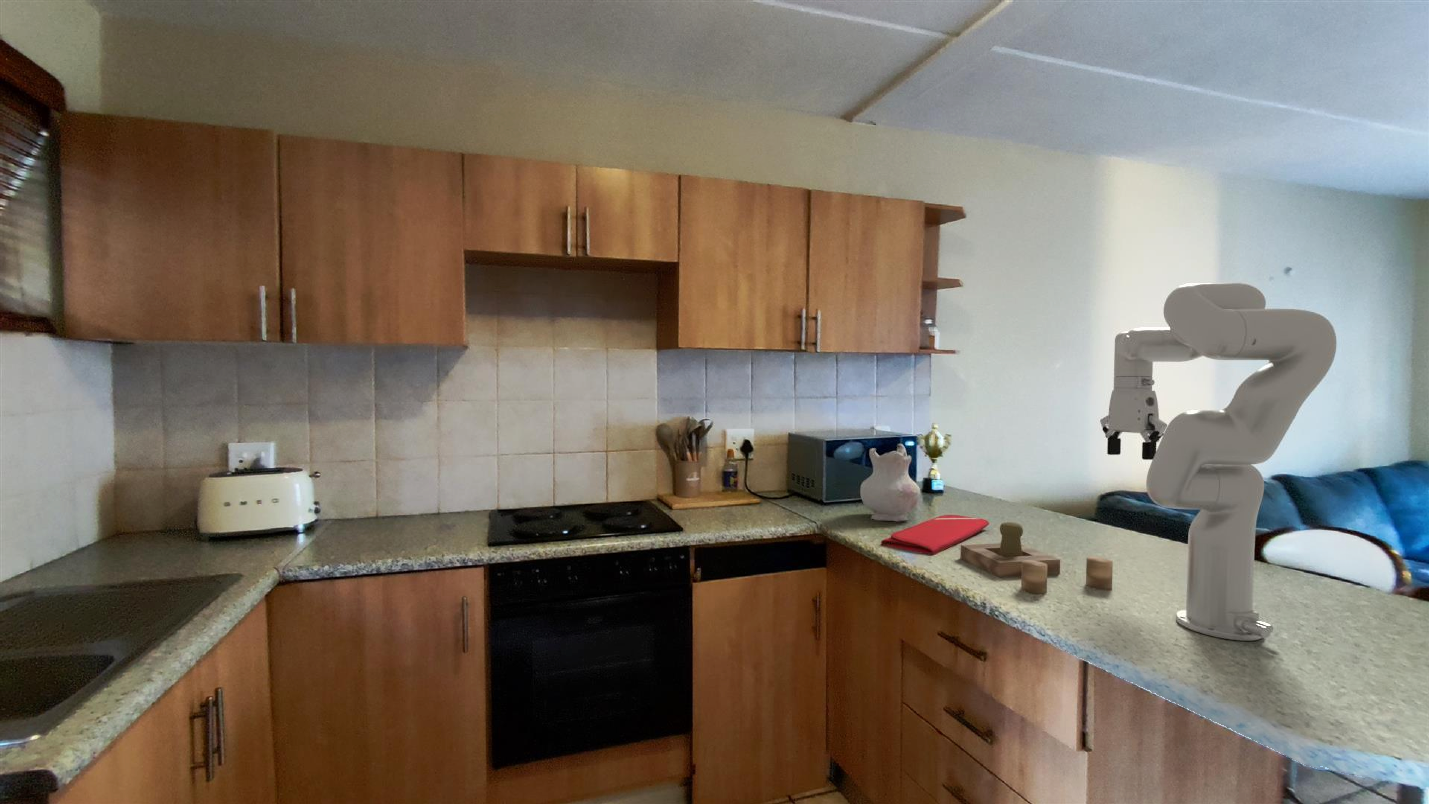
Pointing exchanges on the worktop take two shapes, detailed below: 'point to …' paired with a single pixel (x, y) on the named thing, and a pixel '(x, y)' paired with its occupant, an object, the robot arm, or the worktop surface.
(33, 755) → the worktop surface
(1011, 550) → the cork
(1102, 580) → the short dowel
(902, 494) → the ceramic pitcher
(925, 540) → the red folded cloth
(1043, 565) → the short dowel
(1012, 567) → the socket block
